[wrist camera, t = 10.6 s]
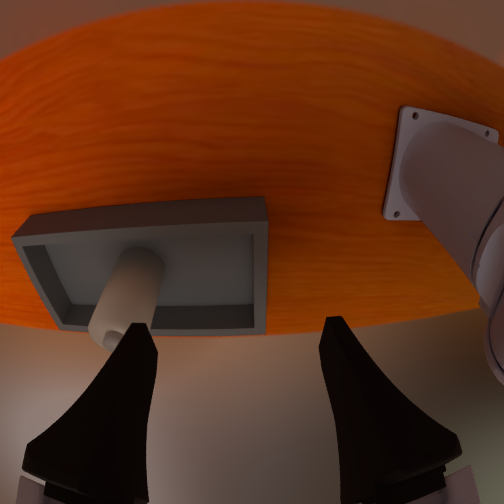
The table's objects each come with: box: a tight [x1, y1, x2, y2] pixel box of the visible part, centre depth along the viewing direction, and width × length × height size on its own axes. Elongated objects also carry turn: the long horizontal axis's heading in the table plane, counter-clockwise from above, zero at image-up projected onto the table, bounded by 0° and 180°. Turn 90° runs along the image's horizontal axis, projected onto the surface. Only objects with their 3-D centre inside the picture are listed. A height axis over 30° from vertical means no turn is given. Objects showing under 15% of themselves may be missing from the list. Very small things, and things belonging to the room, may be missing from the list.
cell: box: [88, 247, 165, 353], centre depth 18 cm, size 4×4×7 cm
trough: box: [11, 197, 268, 336], centre depth 20 cm, size 18×10×3 cm, turn 91°
